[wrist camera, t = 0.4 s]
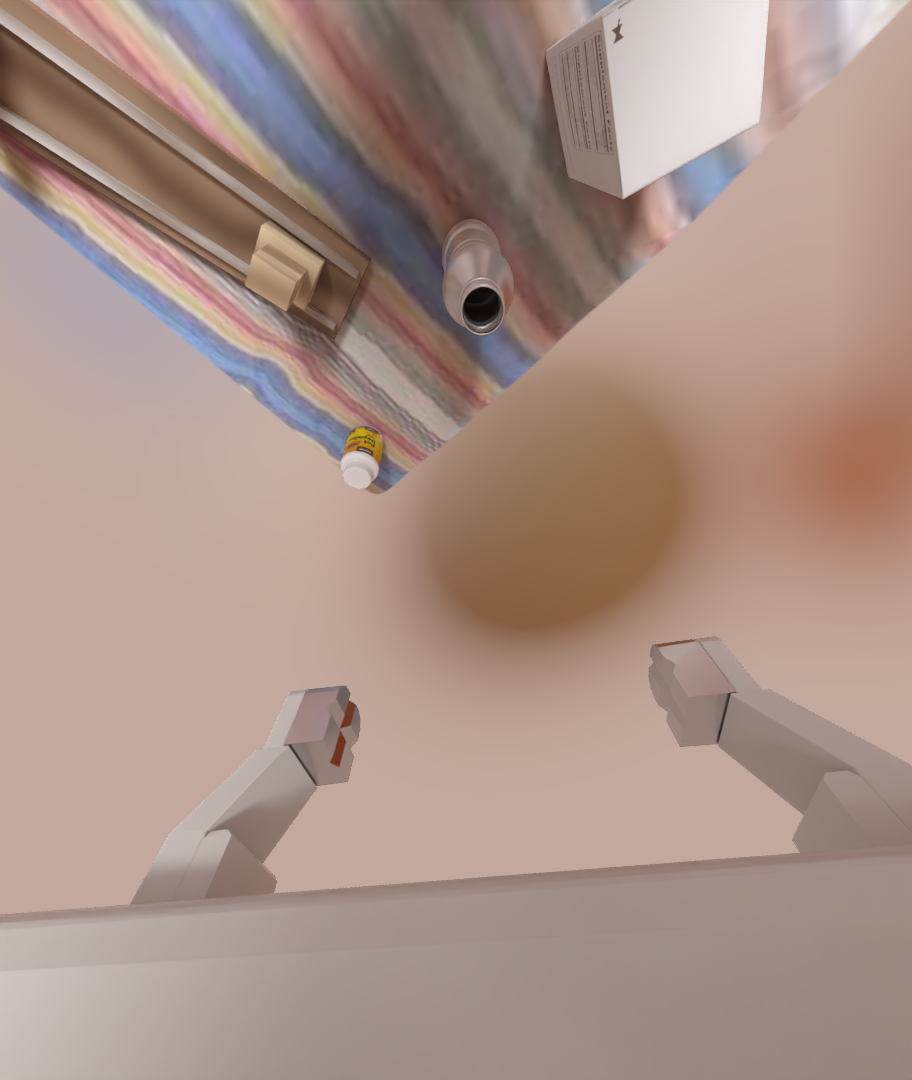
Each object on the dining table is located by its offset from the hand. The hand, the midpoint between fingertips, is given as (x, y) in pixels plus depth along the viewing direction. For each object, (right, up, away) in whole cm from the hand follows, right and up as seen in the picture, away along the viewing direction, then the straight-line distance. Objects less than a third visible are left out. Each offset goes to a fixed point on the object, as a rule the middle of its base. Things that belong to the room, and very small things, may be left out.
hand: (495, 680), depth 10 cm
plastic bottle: (0, +37, +34) cm, 50 cm away
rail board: (-28, +40, +29) cm, 57 cm away
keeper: (-19, +35, +33) cm, 51 cm away
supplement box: (+13, +45, +25) cm, 53 cm away
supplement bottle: (-15, +20, +52) cm, 57 cm away
